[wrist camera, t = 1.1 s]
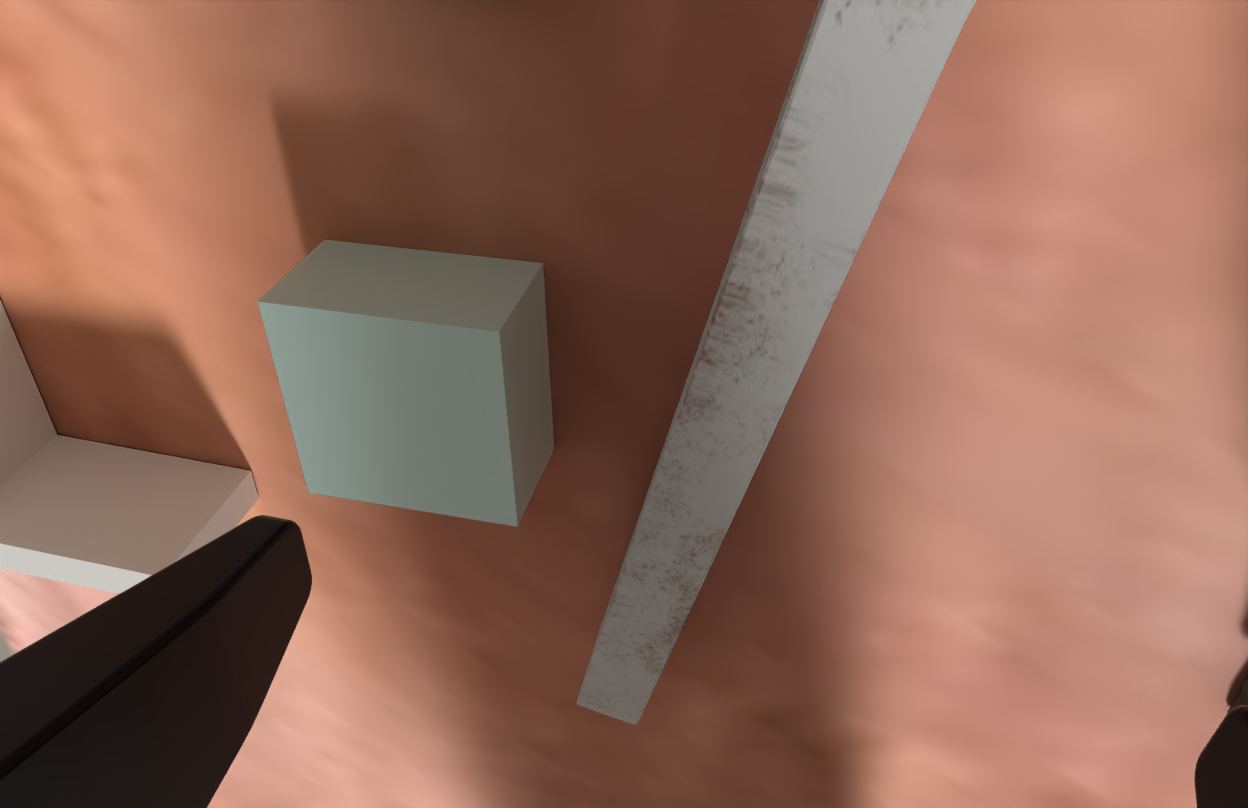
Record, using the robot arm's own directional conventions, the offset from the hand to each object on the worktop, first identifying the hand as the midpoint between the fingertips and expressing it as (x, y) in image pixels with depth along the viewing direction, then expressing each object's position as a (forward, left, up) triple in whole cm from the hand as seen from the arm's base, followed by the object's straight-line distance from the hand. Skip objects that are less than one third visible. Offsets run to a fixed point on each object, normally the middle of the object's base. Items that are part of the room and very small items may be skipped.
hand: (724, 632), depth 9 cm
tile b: (+8, +5, -11) cm, 14 cm away
